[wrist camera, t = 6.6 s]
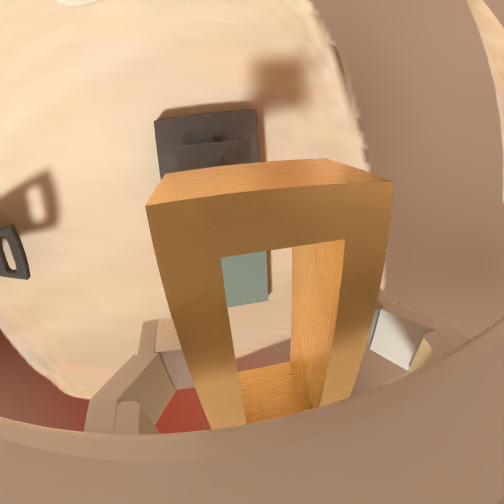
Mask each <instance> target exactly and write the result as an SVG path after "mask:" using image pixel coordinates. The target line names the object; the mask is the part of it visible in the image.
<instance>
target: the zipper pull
mask: <svg viewBox="0 0 504 504" xmlns="http://www.w3.org/2000/svg"><path fill="white" fill-rule="evenodd" d="M1 236H5V237H6V239H7V241H8V243H9V246H10V249H11V252H12V255H13V258H14V261H15V263H16V268H17V270H12V269H11V268H10V267H9V265H8V262H7V260H6V257H5V254H4V251H3V248H2V244H1V241H0V276H3V277H10V278H17V279H26V280H28V279H29V278H30V271H29V265H28V261H27V257H26V254H25V251H24V248H23V245H22V242H21V239H20V237H19V234H18V232H17V230H16V228H15V226H14V225H13V224H11V225H8V226H5V227H2V228H0V237H1Z"/></svg>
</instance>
